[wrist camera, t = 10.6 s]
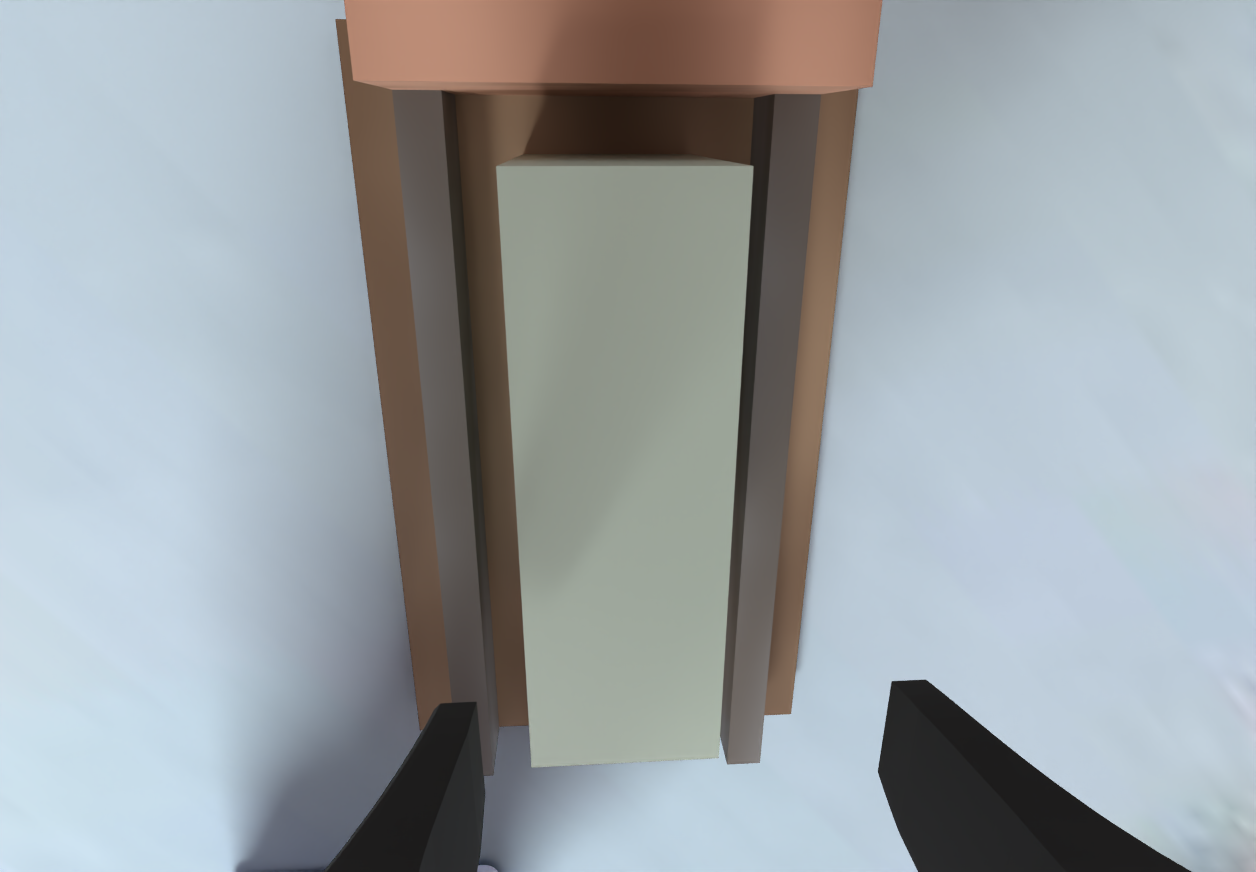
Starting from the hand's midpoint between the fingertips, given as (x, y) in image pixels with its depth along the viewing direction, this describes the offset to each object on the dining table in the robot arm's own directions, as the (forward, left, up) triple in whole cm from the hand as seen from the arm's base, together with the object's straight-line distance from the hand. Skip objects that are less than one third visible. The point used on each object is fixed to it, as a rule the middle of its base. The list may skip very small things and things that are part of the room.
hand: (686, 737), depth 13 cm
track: (-1, +2, -10) cm, 11 cm away
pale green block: (-1, +3, -9) cm, 10 cm away
